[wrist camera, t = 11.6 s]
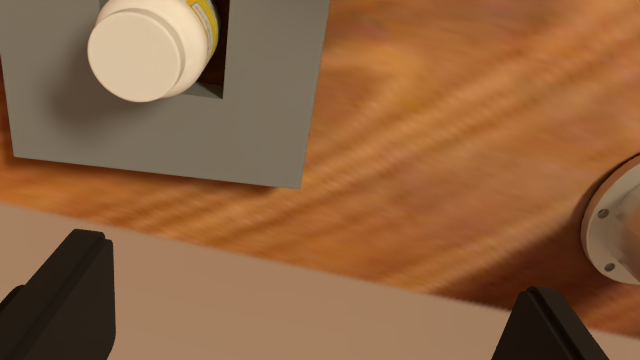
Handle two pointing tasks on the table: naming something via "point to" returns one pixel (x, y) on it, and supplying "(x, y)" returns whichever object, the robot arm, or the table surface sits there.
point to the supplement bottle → (152, 46)
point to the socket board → (172, 112)
